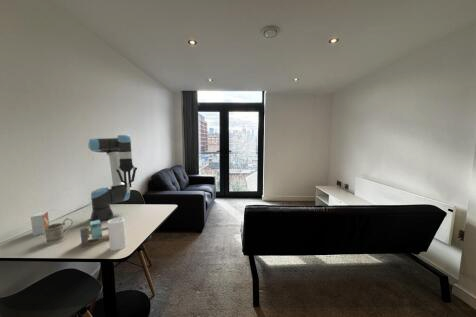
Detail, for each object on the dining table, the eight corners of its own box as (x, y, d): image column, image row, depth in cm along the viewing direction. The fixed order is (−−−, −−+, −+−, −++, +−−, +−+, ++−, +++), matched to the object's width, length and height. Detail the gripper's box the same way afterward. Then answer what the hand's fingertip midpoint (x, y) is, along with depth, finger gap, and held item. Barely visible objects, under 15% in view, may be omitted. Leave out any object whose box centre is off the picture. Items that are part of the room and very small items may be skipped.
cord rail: (81, 243, 124) (79, 227, 122) (117, 233, 136) (116, 218, 135) (82, 247, 118) (80, 231, 117) (119, 236, 130) (118, 221, 129)
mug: (48, 246, 120) (45, 227, 119) (42, 242, 125) (40, 223, 124) (77, 236, 132) (75, 218, 131) (71, 232, 138) (69, 215, 136)
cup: (114, 243, 122) (112, 217, 121) (128, 242, 123) (126, 217, 121) (107, 251, 114) (104, 223, 112) (122, 250, 115) (120, 222, 113)
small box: (45, 233, 137) (43, 215, 136) (32, 236, 134) (30, 217, 133) (50, 229, 144) (47, 211, 143) (38, 231, 142) (35, 212, 140)
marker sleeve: (91, 235, 126) (89, 221, 125) (100, 233, 130) (99, 219, 129) (92, 239, 121) (90, 225, 120) (102, 237, 124) (100, 223, 123)
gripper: (115, 159, 130) (118, 195, 132) (137, 157, 138) (140, 191, 140) (113, 158, 136) (116, 192, 138) (135, 156, 144) (137, 189, 146)
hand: (128, 192), depth 139 cm, fingers closed
